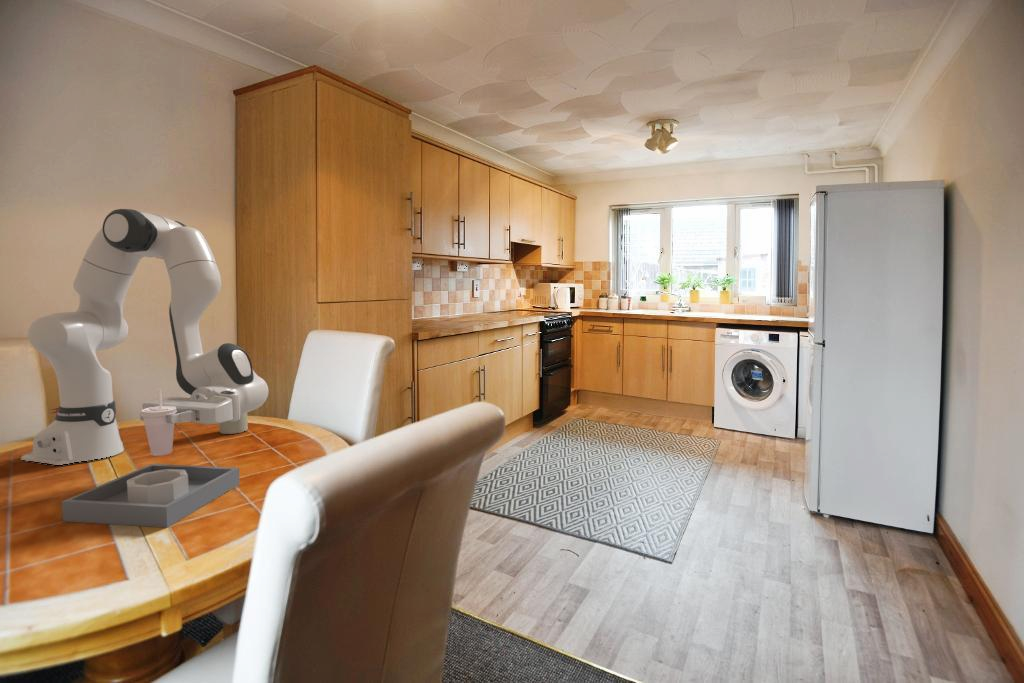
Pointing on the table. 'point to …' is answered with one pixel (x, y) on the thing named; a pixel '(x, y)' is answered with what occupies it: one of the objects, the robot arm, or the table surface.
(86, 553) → the table surface
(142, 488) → the tray
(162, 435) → the smoothie
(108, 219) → the robot arm
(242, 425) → the travel mug
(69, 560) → the table surface
